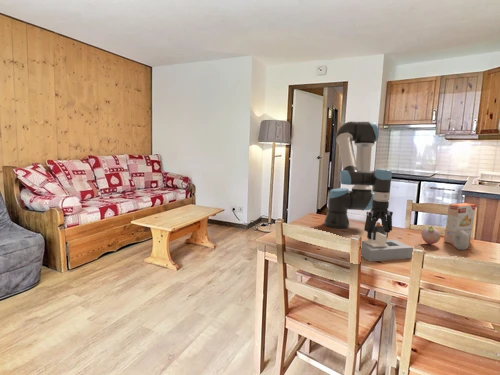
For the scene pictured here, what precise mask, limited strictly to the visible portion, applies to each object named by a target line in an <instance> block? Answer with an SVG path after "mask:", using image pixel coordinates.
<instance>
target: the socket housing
mask: <svg viewBox="0 0 500 375" xmlns="http://www.w3.org/2000/svg"><path fill="white" fill-rule="evenodd" d="M364 241H365V240H362V248H361V255H362V256H361V257H362V258H363V259H365V260H367V261H369V262H381V261H391V260H392V261H393V260H403V259H405V260H406V259H412V258H413V254H412V252H413V253H414V247H413V246H411V245H408V244H406V243H404V242H401V241H400V240H397V239H394V238H391V239H386V244H387V245H388V246H387V247H372V246H370V245H368V244H366V243H364Z"/></svg>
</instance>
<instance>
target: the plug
mask: <svg viewBox="0 0 500 375" xmlns="http://www.w3.org/2000/svg"><path fill="white" fill-rule="evenodd" d="M384 228H385V227H383V225H382V226H381V222H378V221H377V222H376V224H375V227H374V229H373V231H372V233H374V234H373V240H375V239H376V232H379V233H381V234H383V235H384Z"/></svg>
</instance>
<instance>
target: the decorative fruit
mask: <svg viewBox="0 0 500 375" xmlns="http://www.w3.org/2000/svg"><path fill="white" fill-rule="evenodd" d="M421 238H422V240H423V241H424V242H425V243H426V244H427V245H429V246H431V245H434V244H436V243H438V242H439V241H440V239H441V233H440V231H439V230H438V229H436V228H434V227H433V226H432V225H431V226H428V227H425V228H423V229H422V230H421Z"/></svg>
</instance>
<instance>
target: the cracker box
mask: <svg viewBox="0 0 500 375" xmlns="http://www.w3.org/2000/svg"><path fill="white" fill-rule="evenodd" d="M476 206H477V205H476V204H473V203H468V202H461V203H449V204H448V209H447V216H446V223H445V229H444V230H445V231H444V238H443V242H444V243H447V244H449V245H454V243H453V235H454V233H455V232H456V231H458V230H463V231H465V232H466V233H467V235H468V237H469V243H470V242H471V240H472V239H471V237H472V232H473V225H474V219H475V213H476ZM454 246H455V245H454Z"/></svg>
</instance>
